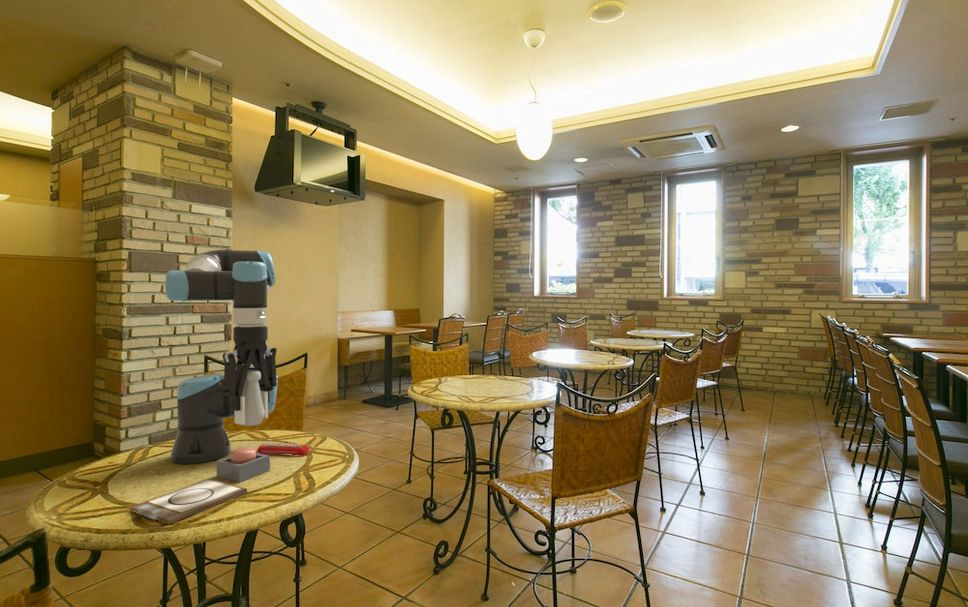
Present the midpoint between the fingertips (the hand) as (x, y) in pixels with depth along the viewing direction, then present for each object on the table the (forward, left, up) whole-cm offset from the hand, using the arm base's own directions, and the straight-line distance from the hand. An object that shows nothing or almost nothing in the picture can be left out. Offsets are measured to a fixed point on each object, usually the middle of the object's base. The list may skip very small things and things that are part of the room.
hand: (251, 420), depth 118 cm
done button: (-11, +5, -14) cm, 18 cm away
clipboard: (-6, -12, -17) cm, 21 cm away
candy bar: (-15, +22, -17) cm, 31 cm away
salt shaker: (0, 0, -1) cm, 1 cm away
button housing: (-11, +5, -17) cm, 20 cm away
